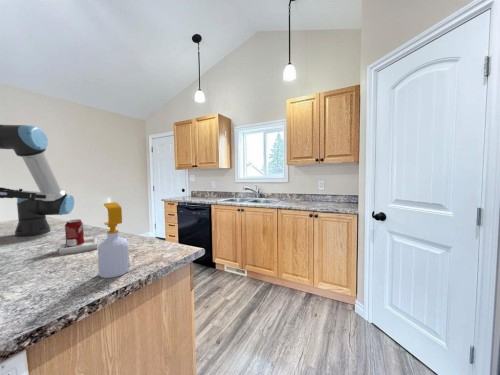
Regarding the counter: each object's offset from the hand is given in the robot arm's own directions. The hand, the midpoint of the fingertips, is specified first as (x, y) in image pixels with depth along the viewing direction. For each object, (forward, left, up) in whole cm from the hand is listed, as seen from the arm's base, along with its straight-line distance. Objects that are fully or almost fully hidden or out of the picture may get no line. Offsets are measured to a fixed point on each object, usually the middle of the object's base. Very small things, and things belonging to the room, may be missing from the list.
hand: (48, 196), depth 100 cm
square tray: (+2, +10, -25) cm, 27 cm away
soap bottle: (+42, +22, -25) cm, 54 cm away
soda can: (0, +8, -24) cm, 26 cm away
